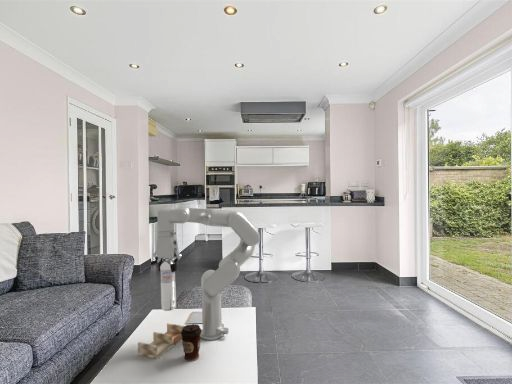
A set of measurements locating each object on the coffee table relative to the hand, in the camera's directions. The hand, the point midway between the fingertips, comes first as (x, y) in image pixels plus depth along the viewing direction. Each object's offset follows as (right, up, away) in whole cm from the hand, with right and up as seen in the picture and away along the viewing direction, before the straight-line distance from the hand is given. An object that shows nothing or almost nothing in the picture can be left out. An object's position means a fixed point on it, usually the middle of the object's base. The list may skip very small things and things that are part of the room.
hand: (167, 270), depth 139 cm
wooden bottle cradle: (-1, -34, -5) cm, 34 cm away
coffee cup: (+15, -33, -16) cm, 40 cm away
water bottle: (+1, -18, 0) cm, 18 cm away
